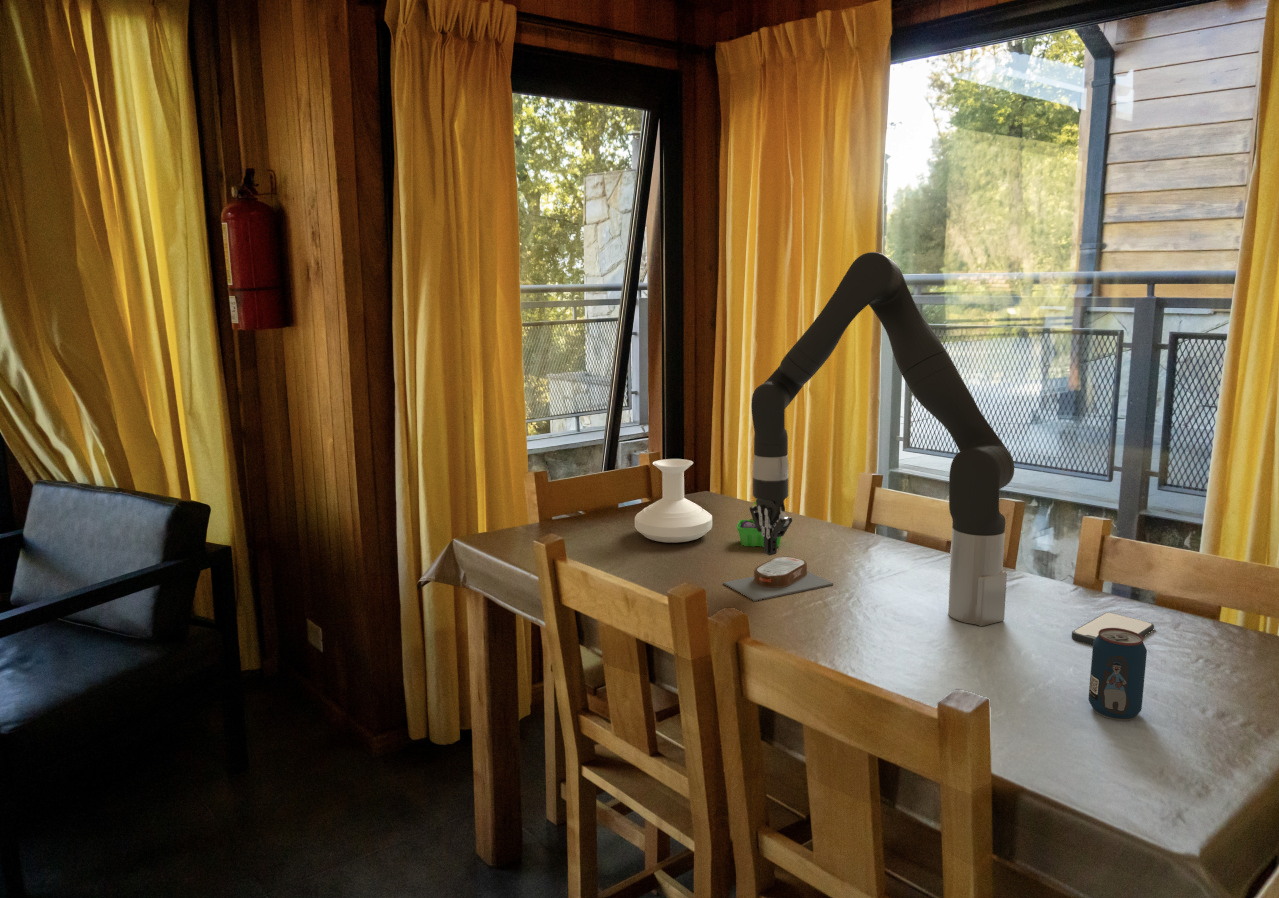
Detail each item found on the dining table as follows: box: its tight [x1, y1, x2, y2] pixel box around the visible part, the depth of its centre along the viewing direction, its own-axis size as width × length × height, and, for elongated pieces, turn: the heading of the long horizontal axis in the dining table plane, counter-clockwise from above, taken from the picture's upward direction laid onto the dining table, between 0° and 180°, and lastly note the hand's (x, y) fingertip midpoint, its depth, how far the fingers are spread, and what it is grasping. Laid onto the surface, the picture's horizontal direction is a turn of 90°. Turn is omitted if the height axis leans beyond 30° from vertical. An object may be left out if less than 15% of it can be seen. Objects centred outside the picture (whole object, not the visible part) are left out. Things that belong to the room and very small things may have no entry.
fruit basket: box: [736, 498, 782, 548], centre depth 215 cm, size 11×9×11 cm
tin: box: [753, 555, 808, 588], centre depth 190 cm, size 15×3×8 cm
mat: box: [722, 570, 834, 602], centre depth 186 cm, size 12×20×1 cm, turn 116°
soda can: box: [1088, 628, 1148, 722], centre depth 128 cm, size 7×7×12 cm
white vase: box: [634, 458, 713, 543], centre depth 222 cm, size 20×20×19 cm
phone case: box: [1071, 612, 1155, 646], centre depth 158 cm, size 9×2×16 cm
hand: (770, 553), depth 188 cm, fingers closed
